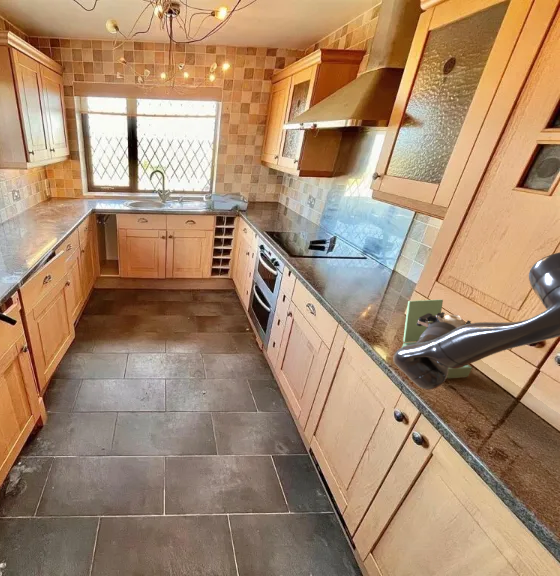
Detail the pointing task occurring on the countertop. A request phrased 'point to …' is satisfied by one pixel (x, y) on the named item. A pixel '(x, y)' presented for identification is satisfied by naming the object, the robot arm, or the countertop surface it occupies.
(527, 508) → the countertop surface
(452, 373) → the tray
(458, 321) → the candle
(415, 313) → the caddy lid
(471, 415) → the countertop surface
